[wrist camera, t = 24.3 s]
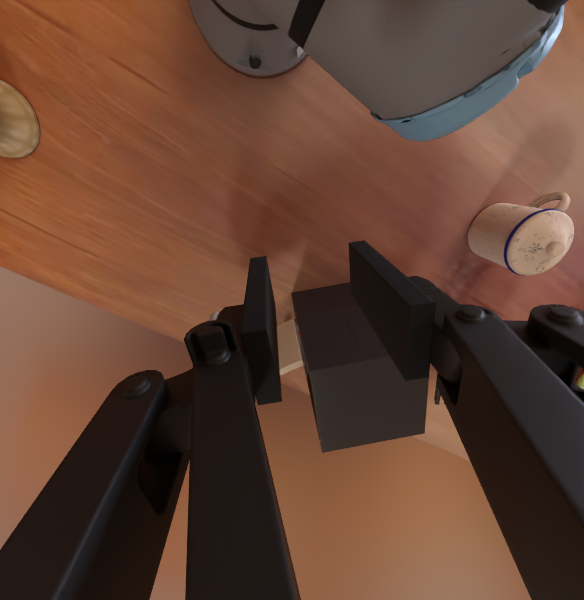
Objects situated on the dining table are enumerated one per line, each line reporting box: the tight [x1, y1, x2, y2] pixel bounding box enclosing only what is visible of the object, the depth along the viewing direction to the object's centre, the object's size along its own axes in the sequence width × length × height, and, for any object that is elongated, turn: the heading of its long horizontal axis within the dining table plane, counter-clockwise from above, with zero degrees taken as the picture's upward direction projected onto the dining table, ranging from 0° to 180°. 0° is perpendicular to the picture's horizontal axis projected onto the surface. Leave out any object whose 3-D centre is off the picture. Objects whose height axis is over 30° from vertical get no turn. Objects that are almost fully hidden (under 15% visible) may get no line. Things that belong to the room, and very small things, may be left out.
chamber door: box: [209, 313, 304, 375], centre depth 36 cm, size 7×11×9 cm, turn 115°
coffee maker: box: [291, 282, 429, 452], centre depth 42 cm, size 14×13×20 cm
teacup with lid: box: [468, 192, 574, 275], centre depth 41 cm, size 12×9×12 cm
